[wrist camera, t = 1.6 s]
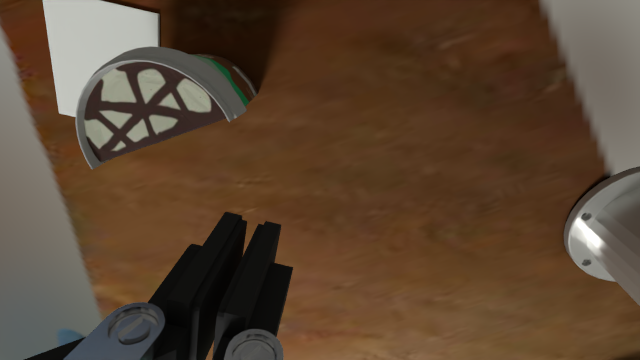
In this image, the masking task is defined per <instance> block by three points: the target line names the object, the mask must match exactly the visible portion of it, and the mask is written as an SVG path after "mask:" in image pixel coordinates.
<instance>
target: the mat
mask: <svg viewBox="0 0 640 360" xmlns="http://www.w3.org/2000/svg"><path fill="white" fill-rule="evenodd" d="M43 6H44V13H45V20H46V27H47V33H48V40H49V47H50V54H51V61H52V68H53V75H54V82H55V88H56V95H57V102H58V109H59V113H61V114H65V115H69V116H73V117H76V108H77V104H78V99H79V97H80V95H81V92H82V90H83V88H84V87H85V85H86V83H87V82H88V81H89V79H90V78H91V76H92V75H93V74H94V73H95V72H96V71H97V70H98V69H99V68H100V67H101V66H102V65H104V64H105V63H107V62H109V61H110V60H112V59H113V58H115V57H117V56H119V55H120V54H122V53H124V52H126V51H129V50H133V49H136V48H142V47H150V46H151V47H160V14H157V13H153V12H149V11H144V10H140V9H136V8H132V7H127V6H123V5H119V4H115V3H110V2H106V1H102V0H43Z"/></svg>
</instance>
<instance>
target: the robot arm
mask: <svg viewBox="0 0 640 360" xmlns="http://www.w3.org/2000/svg"><path fill="white" fill-rule="evenodd" d="M246 227H247V221H245V220H242V215H238V214H233V213H229V212H225V213H224V215H223V216H222V218H221V219H220V221H219V222H218V224H217V225H216V227H215V228H214V230H213V231H212V233H211V234H210V236H209V237H208V238H207V240H206V241H205V243H204V244H203V246H200V245H196V244H191V245H190V246H189V247H188V248H187V249H186V251H185V252H184V253H183V255H182V256H181V258H180V259H179V260H178V262H177V263H176V264H175V266H174V267H173V269H172V270H171V271H170V273H169V274H168V275H167V277H166V278H165V280H164V281H163V282H162V284H161V285H160V286H159V288H158V289H157V290H156V292H155V293H154V295H153V296H152V297H151V299H150V300H149V301H148V303H146V302H136V303H131V304H127V305H124V306H122V307H120V308H118V309H116V310H115V311H113V312H112V313H111V314H110V315H108V316H107V317H106V318H105V319H104V320H103V321H102V322H101V323H100V324H99V325H98V326H97V327H96V328H95V329H94V330H93V331H92V332H91V333H90V334H89V335H88V336H87V337H84V338H82V339H79V340H76V341H73V342H71V343H68V344H65V345H63V346H60V347H57V348H54V349H52V350H49V351H46V352H44V353H41V354H38V355H35V356H33V357H30V358H27V359H25V360H205V359H206V357H207V355H208V352H209V350H210V348H211V346H212V343H213V341H214V348H213V358H212V360H283V357H284V356H283V348H282V345H281V343H280V341H279V340H278V339H277V338H276V336H277V332H278V328H279V324H280V320H281V317H282V313H283V309H284V305H285V301H286V296H287V292H288V288H289V284H290V279H291V275H292V270H293V267H289V266H285V265H281V264H276V263H274V262H275V256H276V251H277V246H278V241H279V235H280V230H281V225H280V224H276V223H272V222H267V221H266V222H265V223H264V225H262V224H258V226H257V228H256V230H255V232H254V234H253V236H252V238H251V240H250V243H249V245H248V247H247V249H246V251H245V253H244V255H243V249H244V242H245V234H246ZM564 244H565V247H566V250H567V252H568V254H569V255H570V257H571V258H572V260H573V261H574V262H575V263H576V264H577V265H578V267H580V268H581V269H582V270H584V271H585V272H586V273H588V274H590V275H592V276H594V277H597V278H600V279H604V280H608V281H616V282H617V283H618V284H619V285H620V286H621V287H622V288H623V289H624V290H625V291H626V292H627V293H628V294H629V295H630V296H631V297H632V298H633V299H634V300H635V301H636V302H637V304H638V305H639V306H640V167H636V168H632V169H628V170H626V171H623V172H621V173H618V174H616V175H613V176H612V177H610V178H608V179H606V180H604V181H603V182H601V183H599V184H598V185H597V186H595V187H594V188H593V189H591V190H590V191H589V192H588V193H587V194H586V195H585V196H584V197H583V198H582V199H581V200H580V201H579V202H578V203H577V204H576V206H575V207H574V209H573V210H572V211H571V213H570V215H569V217H568V220H567V222H566V225H565V230H564Z"/></svg>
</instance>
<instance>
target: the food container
mask: <svg viewBox="0 0 640 360" xmlns="http://www.w3.org/2000/svg"><path fill="white" fill-rule="evenodd" d="M257 94H258V92H257V90H256V88H255V86H254V84H253V82H252V81H251V80H250V79H249V77H248V76H247V75H246V74H245V73H244V72H243V71H242V70H241V69H240V67H238V66H236V65H235V64H233V63H232V62H230V61H229V60H227V59H225V58H223V57H219V56H216V55H212V54H208V53H206V54H190V55H189V54H186V53H184V52H181V51H179V50H174V49H170V48H166V47H151V46H150V47H142V48H136V49H133V50H129V51H126V52H124V53H122V54H120V55H119V56H117V57H115V58H113V59H112V60H110V61H109V62H107V63H105V64H104V65H102V66H101V67H100V68H99V69H98V70H97V71H96V72H95V73H94V74H93V75H92V76H91V78H90V79H89V81H88V82H87V83H86V85H85V87H84V88H83V90H82V92H81V95H80V97H79V99H78V104H77V108H76V130H77V136H78V140H79V143H80V147H81V149H82V152H83V154H84V156H85V158H86V160H87V162H88V164H89V165H90V167H91V169H94V168H96V167H98V166H99V165H101V164H103V163H105V162H106V161H108V160H110V159H112V158H115V157H117V156H120V155H123V154H126V153H129V152H132V151H135V150H137V149H140V148H143V147H146V146H149V145H152V144H156V143H159V142H161V141H164V140H167V139H169V138H172V137H175V136H178V135H180V134H183V133H186V132H189V131H192V130H195V129H197V128H200V127H203V126H206V125H209V124H212V123H214V122H217V121H220V120H223V119H225V118H227V119H228V121H229V122H230V121H231V120H232V119H234V118H236V117H238V116H240V115H241V114H243V113H244V112H246V111H247V110H246V108H245V106H246V105H247V104H248V103H249V102H250V101H251V100H252V99H253V98H254V97H255V96H256V95H257Z"/></svg>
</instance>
